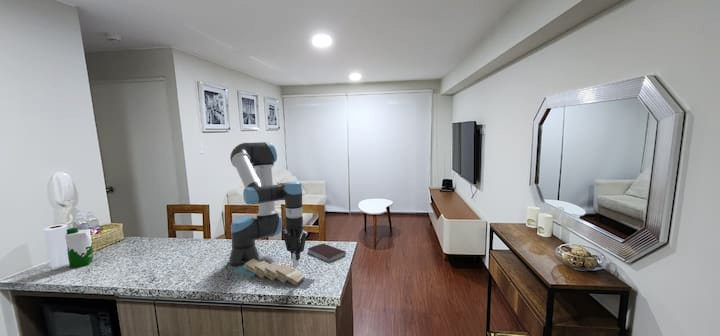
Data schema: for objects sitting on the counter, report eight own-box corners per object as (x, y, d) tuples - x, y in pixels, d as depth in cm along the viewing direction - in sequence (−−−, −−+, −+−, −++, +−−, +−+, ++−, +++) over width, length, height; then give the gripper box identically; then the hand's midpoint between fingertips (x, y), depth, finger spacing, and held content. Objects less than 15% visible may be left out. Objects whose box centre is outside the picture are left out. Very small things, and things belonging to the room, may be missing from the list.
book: (323, 247, 171) (323, 242, 171) (346, 255, 159) (345, 250, 158) (307, 253, 162) (307, 248, 162) (329, 263, 149) (329, 257, 149)
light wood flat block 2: (285, 283, 127) (264, 271, 131) (292, 277, 133) (272, 265, 136) (286, 279, 127) (265, 267, 130) (293, 273, 132) (273, 262, 136)
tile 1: (296, 285, 125) (275, 273, 128) (303, 279, 130) (283, 267, 134) (297, 282, 124) (276, 269, 128) (304, 275, 130) (284, 264, 134)
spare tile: (253, 276, 133) (234, 273, 137) (262, 271, 139) (243, 268, 143) (253, 272, 133) (234, 269, 137) (262, 267, 139) (243, 264, 143)
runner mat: (248, 278, 132) (248, 277, 132) (261, 270, 141) (261, 269, 141) (305, 290, 122) (305, 289, 122) (315, 280, 130) (315, 279, 130)
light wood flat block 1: (263, 278, 131) (243, 266, 135) (271, 273, 137) (252, 261, 140) (264, 275, 131) (244, 263, 134) (272, 269, 136) (253, 258, 140)
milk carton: (73, 263, 151) (68, 227, 149) (95, 259, 156) (91, 224, 154) (66, 269, 144) (62, 231, 142) (90, 265, 148) (86, 228, 146)
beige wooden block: (273, 281, 129) (253, 269, 133) (281, 275, 135) (262, 263, 138) (274, 277, 129) (254, 265, 132) (282, 271, 134) (263, 260, 138)
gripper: (276, 217, 124) (278, 267, 126) (302, 219, 119) (303, 272, 122) (286, 212, 131) (288, 260, 133) (311, 215, 126) (312, 264, 129)
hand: (295, 266), depth 128 cm, fingers closed
